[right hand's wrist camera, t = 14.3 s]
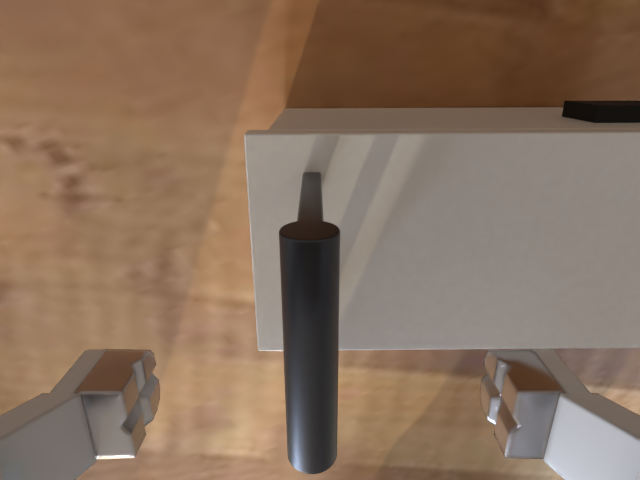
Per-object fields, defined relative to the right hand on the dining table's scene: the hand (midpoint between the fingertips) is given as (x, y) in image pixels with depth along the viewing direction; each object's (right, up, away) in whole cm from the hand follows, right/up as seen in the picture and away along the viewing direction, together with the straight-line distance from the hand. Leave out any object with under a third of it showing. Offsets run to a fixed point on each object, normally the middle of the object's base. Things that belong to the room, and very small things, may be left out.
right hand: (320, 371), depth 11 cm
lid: (+6, +3, +8) cm, 11 cm away
